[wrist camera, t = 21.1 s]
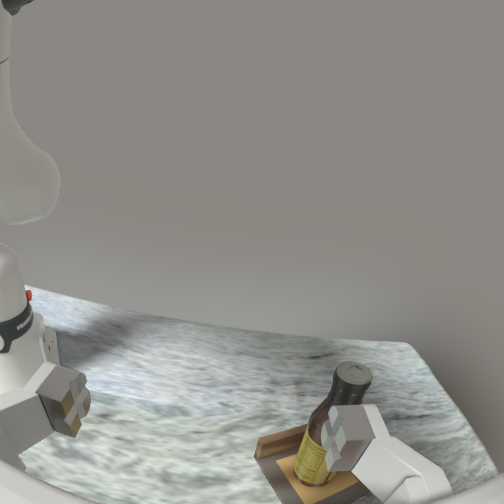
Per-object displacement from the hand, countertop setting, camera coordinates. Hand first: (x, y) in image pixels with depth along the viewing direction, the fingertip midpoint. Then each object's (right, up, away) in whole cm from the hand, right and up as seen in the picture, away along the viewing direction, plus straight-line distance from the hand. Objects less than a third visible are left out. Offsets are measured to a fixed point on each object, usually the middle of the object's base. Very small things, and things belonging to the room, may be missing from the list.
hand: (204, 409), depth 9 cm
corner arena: (+11, -27, +26) cm, 39 cm away
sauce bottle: (+10, -26, +26) cm, 38 cm away
